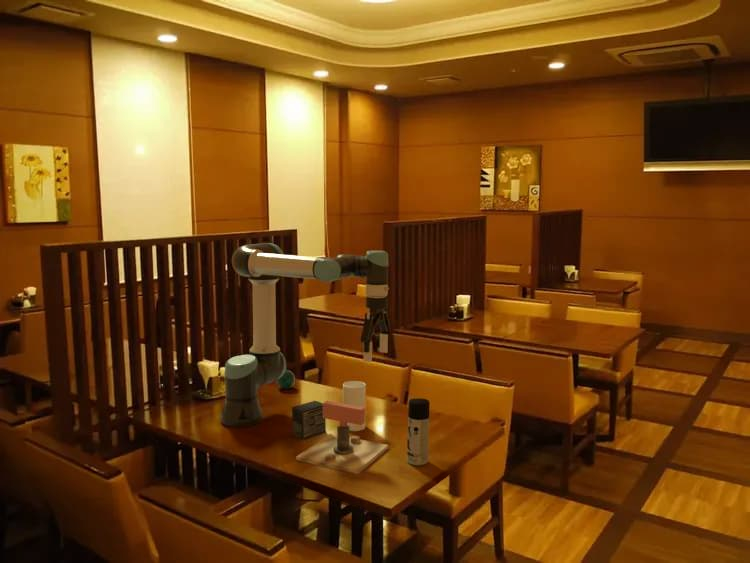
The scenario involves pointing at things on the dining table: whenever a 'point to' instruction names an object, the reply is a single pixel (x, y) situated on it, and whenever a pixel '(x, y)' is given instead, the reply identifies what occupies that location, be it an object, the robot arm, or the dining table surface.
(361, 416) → the pink rectangular block
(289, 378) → the sphere
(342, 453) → the post board
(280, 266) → the robot arm
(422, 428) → the spray can
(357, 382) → the cup
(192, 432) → the dining table surface
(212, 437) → the dining table surface
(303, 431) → the small box
